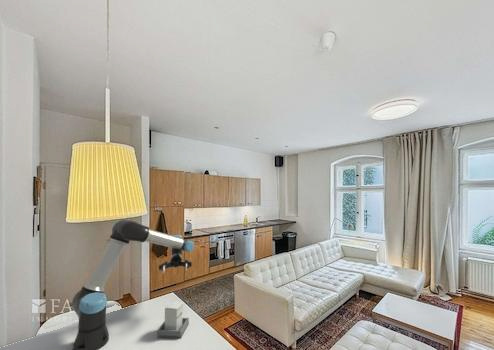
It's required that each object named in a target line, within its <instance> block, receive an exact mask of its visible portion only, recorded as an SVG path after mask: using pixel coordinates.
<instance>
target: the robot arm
mask: <svg viewBox="0 0 494 350" xmlns="http://www.w3.org/2000/svg"><path fill="white" fill-rule="evenodd" d="M130 242H137V243H138V242H139V243H145V242H147V243H150V244H154V245H158V246H164V247H168V248H171V258H170V261H169V262H168V261H165V262H163V263H161V264H159V265H158V270H159V271H160V270H161V272H162V274H165V270H166V269H169V268H179V267H185V271H186V272H187V271H188V269H189V268H192V264H193V263H192V262H191V261H189V260H187V259H184V260H183V251H184V252H186V253H187V252H188V253H190V252H192V251H193V250H194V248H195V243H194V242H193V241H192V240H188V239H185V238H183V235H181V234H174V235H171V234H168V233H164V232H160V231H157V230H155V229H154V230H153V229H151V228H150V227H149V226H146V225H144V224H141V223H138V222H137V221H133V220H129V219H121V220H118V221H116V222H115V223H114V224H113V225H112V229H111V234H110V237H109V243H108V245H107V247H106V249H105V251H104V253H103V254H102V256H101V258H100V260H99V261H98V263H97V265H96V267H95V269H94V270H93V273H92V275H91V276H90V278H89V280H88V282H86V283H85V284H83V286H82V287H81V289H80V290H79V291H77V292H76V293H75V295H74V296H73V298H72V301H71V306H72V310H73V311H74V312H75V314H76V315H77V317H78V328H77V329H78V331H77V334H76V337H75V338H74V342H73V345H72V350H99V349H101V348H103V347H104V346H105V345H107V343H108V342H109V339H110V337H109V336H110V333H109V330H108V327H107V325H106V319H107V317H106V316H107V304H108V300H107V296H106V294H105V291H106V290H105V285H106V282H107V281H108V279H109V277H110V275H111V273H112V271H113V269H114V267H115V265H116V264H117V261H118V260H119V257H120V256H121V254H122V252H123V250H124V248H125V247H126V246H128V245H129V244H130Z"/></svg>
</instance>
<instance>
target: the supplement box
mask: <svg viewBox="0 0 494 350" xmlns="http://www.w3.org/2000/svg"><path fill="white" fill-rule="evenodd" d="M183 304H184V303H183V302H176V301H175V302H174V301H171V302H170V303H169V304H168V305H167V306H165V308H164V321H165V328H164V330H179V329H180V327H181V326H182V318H183V311H184V309H183V306H184V305H183Z"/></svg>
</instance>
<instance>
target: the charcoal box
mask: <svg viewBox="0 0 494 350" xmlns="http://www.w3.org/2000/svg"><path fill="white" fill-rule="evenodd" d="M189 319H190V318H189V317H182V326H181V327H180V329H179V330H164V328H165V320H164V321H163V323H162V324H161V325H160V327H159V328H158V329H157V330H156V338H157V339H158V338H159V339H182V337H183V335H184V333H185V331H186V330H187V329H188V326H189V324H190V320H189Z"/></svg>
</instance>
